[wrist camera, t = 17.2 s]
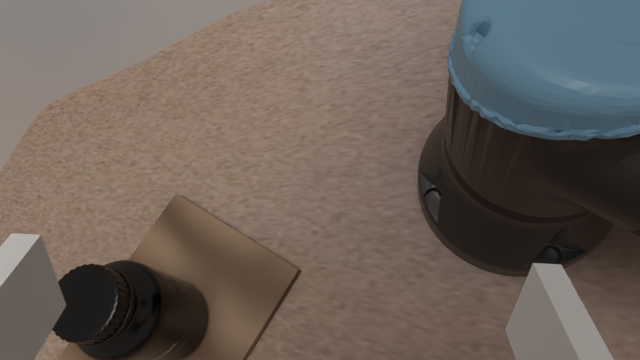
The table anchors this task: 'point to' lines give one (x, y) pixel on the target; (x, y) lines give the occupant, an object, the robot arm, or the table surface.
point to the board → (215, 278)
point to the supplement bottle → (130, 312)
